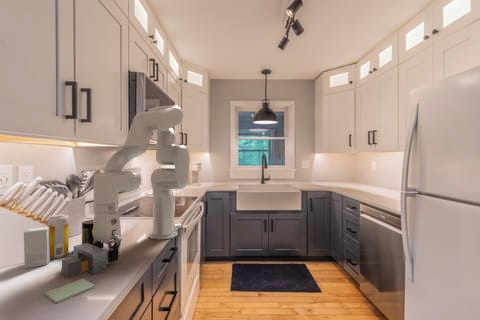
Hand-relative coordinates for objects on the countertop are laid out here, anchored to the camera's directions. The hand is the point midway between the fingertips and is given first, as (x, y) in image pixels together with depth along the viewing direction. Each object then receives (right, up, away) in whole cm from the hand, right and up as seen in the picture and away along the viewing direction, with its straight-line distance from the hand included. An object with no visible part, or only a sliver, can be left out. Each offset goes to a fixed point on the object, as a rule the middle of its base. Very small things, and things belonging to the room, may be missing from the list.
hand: (105, 257), depth 82 cm
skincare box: (-22, -2, -2) cm, 22 cm away
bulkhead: (-3, -1, -4) cm, 5 cm away
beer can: (-20, -2, +5) cm, 21 cm away
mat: (+1, -1, -18) cm, 18 cm away
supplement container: (-14, -2, +14) cm, 20 cm away
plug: (-3, -1, -4) cm, 5 cm away
